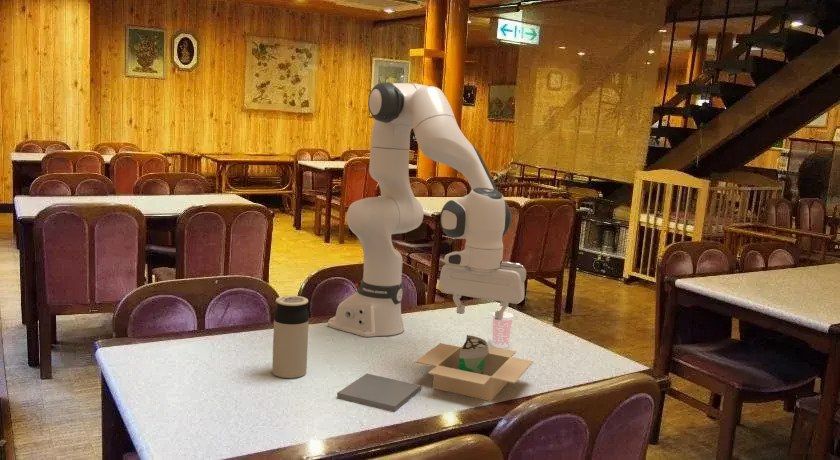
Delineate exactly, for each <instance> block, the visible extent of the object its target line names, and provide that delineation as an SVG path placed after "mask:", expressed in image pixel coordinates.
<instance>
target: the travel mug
mask: <svg viewBox="0 0 840 460" xmlns="http://www.w3.org/2000/svg"><path fill="white" fill-rule="evenodd" d="M275 302H276V306H277V308H276V310H275V311H274V313H273V314H274V315H273V340H272V342H273V343H272V344H273V345H272V346H273V347H272V368H271V369H272V374H273V375H274V376H276V377H279V378H282V379H297V378H300V377H303V376H304V375H305V374H307V368H308V367H307V365H308V363H307V362H308V343H309V341H308V340H309V339H308V337H309V322H310V321H309V319H310V315H309V314H310V313H309V311H308V309H307V305H308V303H309V299H308V298H307V297H304V296H299V295H283V296H279V297H276V299H275Z"/></svg>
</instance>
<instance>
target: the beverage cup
mask: <svg viewBox="0 0 840 460" xmlns="http://www.w3.org/2000/svg"><path fill="white" fill-rule="evenodd" d="M495 312H496V311H494V312H491V318H492V324H491V325H492V327H491V330H492V332H491V334H492V335H491V346H492V347H497V348H502V349H508V348H509V345H510V344H509V343H510V338H511V337H510V336H511V330H512V325H513V320H514V315H515V314H513V313H511V312H507V311H504V312H503V319H502V320H496V319H495Z"/></svg>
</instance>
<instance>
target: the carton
mask: <svg viewBox="0 0 840 460" xmlns="http://www.w3.org/2000/svg"><path fill="white" fill-rule="evenodd" d="M463 346H464V344H463V345H461V346H458V345H457V346H456V345H452V344H447V343H442V342H441V343H438V344H437V345H436V346H434V347H433V348H431V349H430V350H429V351H427V352H426V353H425V354H423V355H422V356H420V357H419V358H417V359H416V360H415V361H414V363H415V364H420V365H425V366H430V367H434V368H433V369H431V370H430V371H429V372H428V375H431V376H432V375H433V381H432V382H433V384H432V385H433V387H432V388H433V389H436V390H441V391H444V392H445V391H446V392H449V393H454V394H459V395H462V396H467V397H472V398H477V399H481V400H486V401H491V402H492V401H493V400H494V399H495V397H496V396H497V395H498V394H499V393H500V392H501V391H502V390H503V389H504V388H505V386H506V385H507V384H508V383H511V384H516V383H517V382H518V380H519V379H520V378H521V377H522V376H523V375H524V374H525V372H527V370H528V369H529V367H530V366H532V364H534V361H533V360H530V359H529V360H528V359H523V358H519V357H513V356H514V355H515V354H516V353H517V351H516V350H512V349H508V348H497V347H494V346H492V345H491V346H490V345H488V350H489V353H488V355H486V356H485V362H484V369H483V374H478V373H473V372H468V371H463V370H459V355H460V349H462V348H463Z"/></svg>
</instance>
